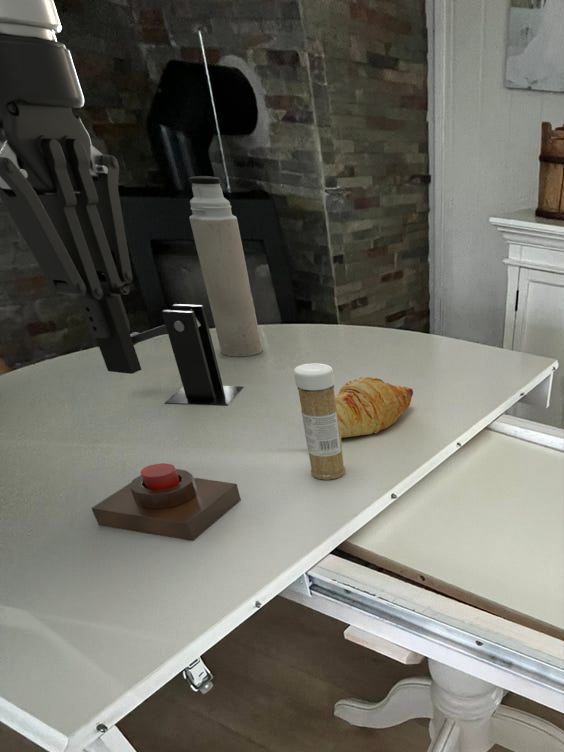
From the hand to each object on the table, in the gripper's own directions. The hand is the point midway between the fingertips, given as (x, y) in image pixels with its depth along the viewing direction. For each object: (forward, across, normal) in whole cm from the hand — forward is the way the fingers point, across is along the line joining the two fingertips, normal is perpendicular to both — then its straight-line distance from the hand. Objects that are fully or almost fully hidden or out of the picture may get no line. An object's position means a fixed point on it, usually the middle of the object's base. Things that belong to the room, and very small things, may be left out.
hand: (124, 370), depth 59 cm
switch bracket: (+16, +34, +17) cm, 41 cm away
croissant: (+16, +33, -11) cm, 38 cm away
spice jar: (+16, +15, -13) cm, 26 cm away
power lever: (+6, +33, +21) cm, 40 cm away
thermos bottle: (+16, +62, +27) cm, 70 cm away
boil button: (+12, 0, 0) cm, 12 cm away
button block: (+16, 0, 0) cm, 16 cm away
